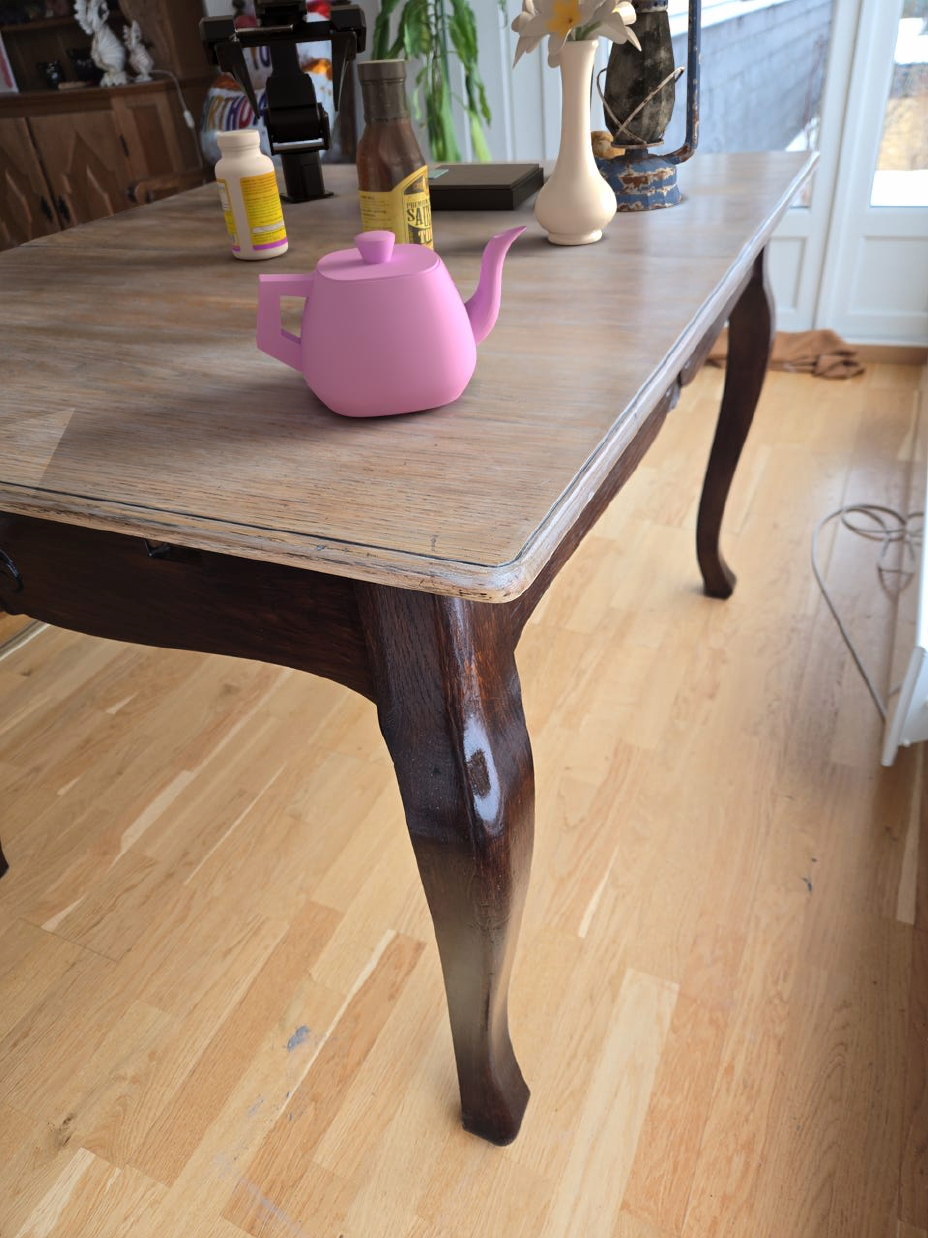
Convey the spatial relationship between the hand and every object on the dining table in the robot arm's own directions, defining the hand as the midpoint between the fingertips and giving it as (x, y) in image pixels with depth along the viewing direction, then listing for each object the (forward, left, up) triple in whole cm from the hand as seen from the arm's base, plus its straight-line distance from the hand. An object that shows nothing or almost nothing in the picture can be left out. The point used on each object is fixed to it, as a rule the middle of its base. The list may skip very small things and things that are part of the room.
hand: (297, 113), depth 101 cm
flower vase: (+25, +21, -14) cm, 36 cm away
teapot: (+53, -16, -14) cm, 57 cm away
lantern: (+15, +39, -14) cm, 44 cm away
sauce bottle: (+35, -6, -14) cm, 38 cm away
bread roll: (-1, +45, -14) cm, 47 cm away
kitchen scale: (-4, +26, -13) cm, 30 cm away
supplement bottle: (+4, -9, -14) cm, 17 cm away
